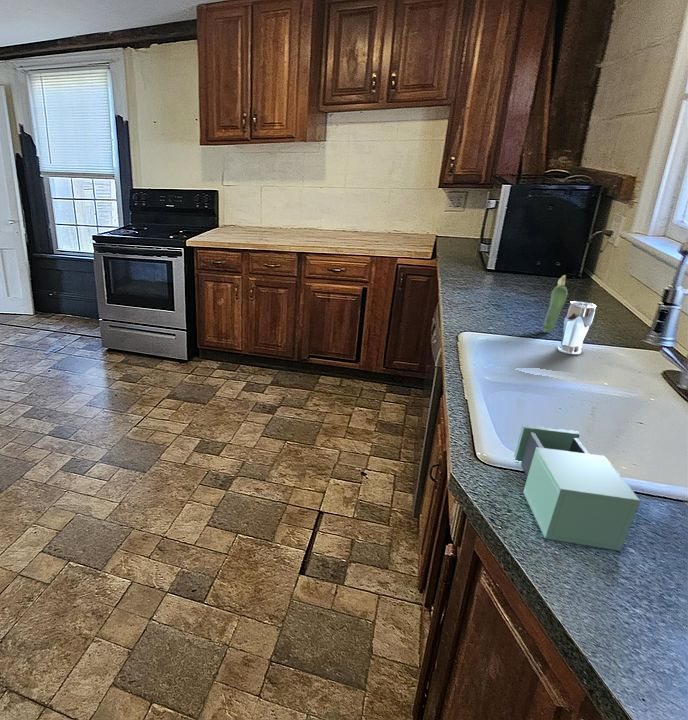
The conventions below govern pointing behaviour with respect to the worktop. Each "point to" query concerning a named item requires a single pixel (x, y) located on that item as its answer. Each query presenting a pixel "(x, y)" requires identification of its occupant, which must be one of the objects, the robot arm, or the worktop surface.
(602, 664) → the worktop surface
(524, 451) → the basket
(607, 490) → the mint green box
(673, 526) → the worktop surface
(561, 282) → the vegetable
